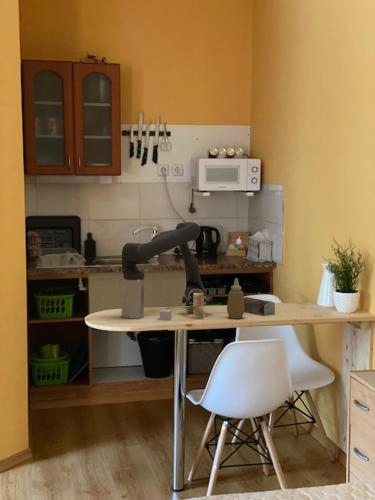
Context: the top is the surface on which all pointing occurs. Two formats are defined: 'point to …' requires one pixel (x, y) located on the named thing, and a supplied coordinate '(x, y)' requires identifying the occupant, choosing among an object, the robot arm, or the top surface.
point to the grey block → (165, 314)
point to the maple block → (198, 305)
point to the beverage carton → (259, 306)
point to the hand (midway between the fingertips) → (198, 302)
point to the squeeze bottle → (235, 301)
